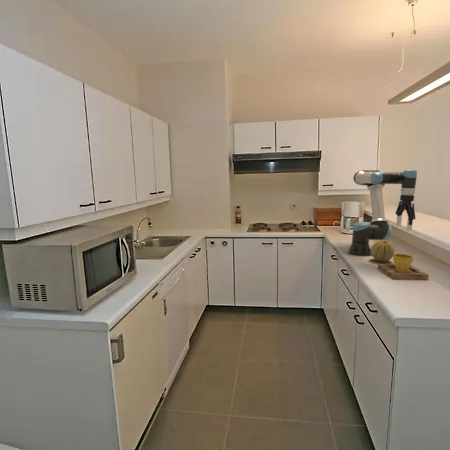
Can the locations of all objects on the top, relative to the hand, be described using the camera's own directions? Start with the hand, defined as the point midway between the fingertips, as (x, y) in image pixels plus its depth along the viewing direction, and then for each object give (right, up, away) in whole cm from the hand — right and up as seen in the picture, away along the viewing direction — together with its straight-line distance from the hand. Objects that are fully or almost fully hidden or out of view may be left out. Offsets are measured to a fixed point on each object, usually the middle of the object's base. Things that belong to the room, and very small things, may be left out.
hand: (403, 227), depth 205 cm
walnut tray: (-7, -28, -11) cm, 31 cm away
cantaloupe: (-7, -23, +16) cm, 29 cm away
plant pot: (-7, -26, -11) cm, 30 cm away
